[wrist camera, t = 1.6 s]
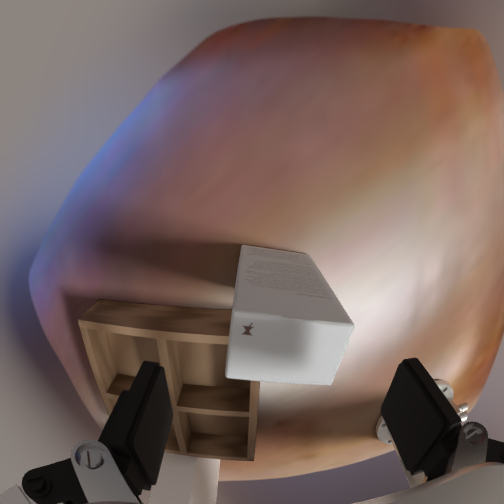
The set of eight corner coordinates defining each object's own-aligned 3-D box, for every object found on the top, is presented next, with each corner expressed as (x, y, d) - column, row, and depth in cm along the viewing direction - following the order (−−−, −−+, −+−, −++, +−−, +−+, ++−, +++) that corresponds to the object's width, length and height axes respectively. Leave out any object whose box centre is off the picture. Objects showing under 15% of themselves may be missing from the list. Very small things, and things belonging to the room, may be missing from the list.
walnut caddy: (261, 311, 26) (262, 337, 21) (254, 434, 31) (253, 461, 26) (99, 299, 26) (77, 319, 21) (131, 419, 31) (121, 442, 26)
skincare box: (234, 289, 25) (220, 379, 14) (241, 243, 24) (229, 308, 12) (301, 298, 25) (332, 388, 14) (311, 253, 24) (357, 322, 13)
